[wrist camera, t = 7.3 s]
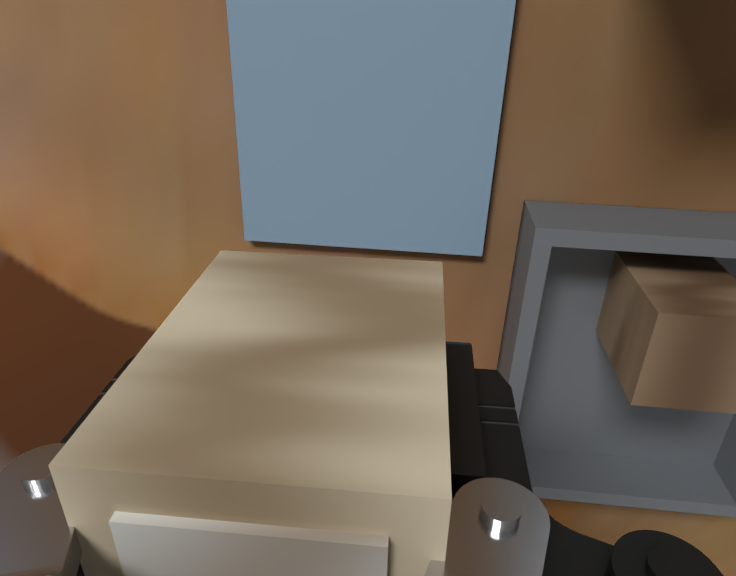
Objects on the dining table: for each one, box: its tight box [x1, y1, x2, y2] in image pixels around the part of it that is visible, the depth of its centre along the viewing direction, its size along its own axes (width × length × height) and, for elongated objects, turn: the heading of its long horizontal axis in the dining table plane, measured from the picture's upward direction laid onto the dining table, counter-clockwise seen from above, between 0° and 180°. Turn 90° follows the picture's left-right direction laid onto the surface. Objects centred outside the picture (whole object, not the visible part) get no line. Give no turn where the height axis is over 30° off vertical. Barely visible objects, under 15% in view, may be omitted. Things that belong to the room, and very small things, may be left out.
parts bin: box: [497, 200, 736, 517], centre depth 29 cm, size 14×16×4 cm
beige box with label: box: [48, 251, 452, 576], centre depth 10 cm, size 4×4×6 cm
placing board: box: [226, 0, 516, 256], centre depth 26 cm, size 12×12×1 cm
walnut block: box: [596, 251, 736, 414], centre depth 26 cm, size 4×4×6 cm
